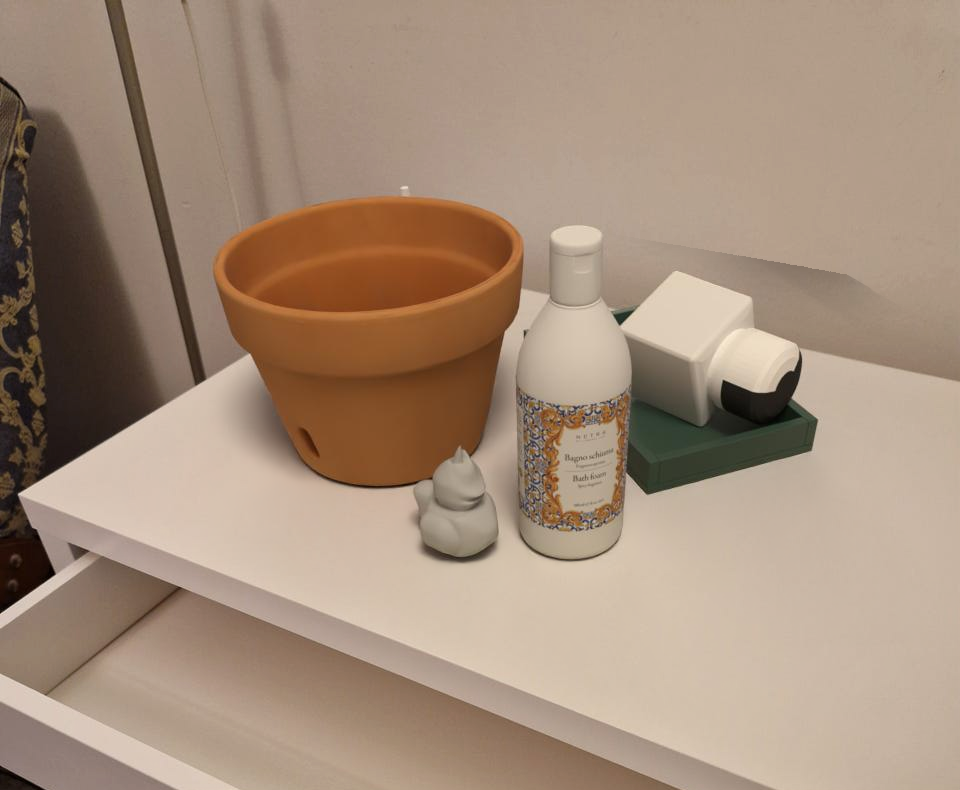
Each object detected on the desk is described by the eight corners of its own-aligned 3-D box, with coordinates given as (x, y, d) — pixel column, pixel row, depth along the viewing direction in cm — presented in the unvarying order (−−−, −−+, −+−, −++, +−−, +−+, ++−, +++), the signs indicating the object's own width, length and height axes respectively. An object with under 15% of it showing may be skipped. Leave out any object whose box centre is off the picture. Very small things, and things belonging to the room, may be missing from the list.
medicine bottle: (684, 339, 81) (814, 390, 75) (629, 397, 79) (756, 455, 73) (674, 267, 75) (814, 316, 69) (614, 328, 74) (751, 384, 67)
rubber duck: (467, 582, 64) (459, 477, 59) (393, 544, 68) (380, 442, 62) (520, 541, 67) (517, 437, 62) (447, 507, 71) (438, 406, 65)
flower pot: (371, 349, 89) (349, 174, 79) (577, 410, 80) (581, 220, 70) (198, 463, 76) (145, 272, 66) (417, 550, 67) (395, 344, 57)
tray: (664, 326, 90) (666, 298, 88) (812, 450, 74) (818, 419, 72) (523, 358, 86) (523, 329, 85) (647, 494, 71) (649, 463, 69)
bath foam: (535, 571, 65) (531, 267, 51) (508, 511, 70) (498, 220, 56) (636, 552, 66) (659, 249, 52) (603, 494, 71) (616, 204, 57)
